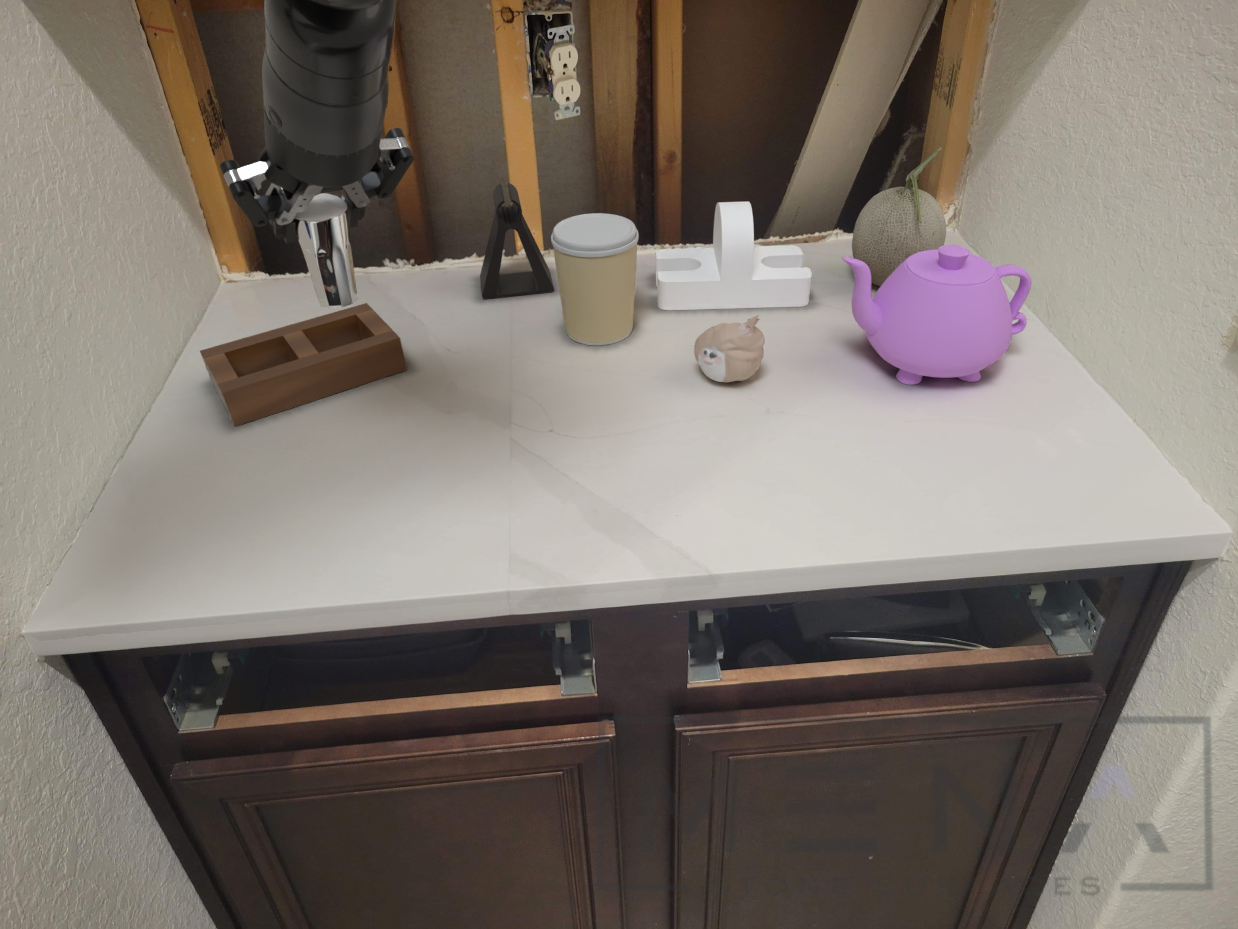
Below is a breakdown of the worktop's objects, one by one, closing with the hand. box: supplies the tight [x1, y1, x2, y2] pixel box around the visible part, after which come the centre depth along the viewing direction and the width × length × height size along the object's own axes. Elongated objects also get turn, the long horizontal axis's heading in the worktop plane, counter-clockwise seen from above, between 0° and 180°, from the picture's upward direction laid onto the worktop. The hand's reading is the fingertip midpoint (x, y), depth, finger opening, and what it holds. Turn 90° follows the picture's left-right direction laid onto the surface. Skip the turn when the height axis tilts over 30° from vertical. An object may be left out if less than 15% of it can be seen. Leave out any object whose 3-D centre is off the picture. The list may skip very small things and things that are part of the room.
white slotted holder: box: [655, 201, 813, 311], centre depth 98 cm, size 10×18×11 cm, turn 90°
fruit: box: [851, 146, 947, 287], centre depth 97 cm, size 10×12×15 cm
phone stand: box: [479, 182, 555, 300], centre depth 100 cm, size 9×6×12 cm, turn 100°
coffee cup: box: [550, 212, 640, 346], centre depth 91 cm, size 9×9×12 cm
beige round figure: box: [693, 314, 766, 383], centre depth 83 cm, size 7×6×8 cm
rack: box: [199, 302, 408, 427], centre depth 87 cm, size 10×18×4 cm, turn 124°
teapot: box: [841, 243, 1032, 385], centre depth 83 cm, size 20×14×12 cm
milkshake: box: [294, 192, 359, 309], centre depth 68 cm, size 5×5×10 cm
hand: (317, 224), depth 69 cm, fingers closed on milkshake, 4 cm apart
